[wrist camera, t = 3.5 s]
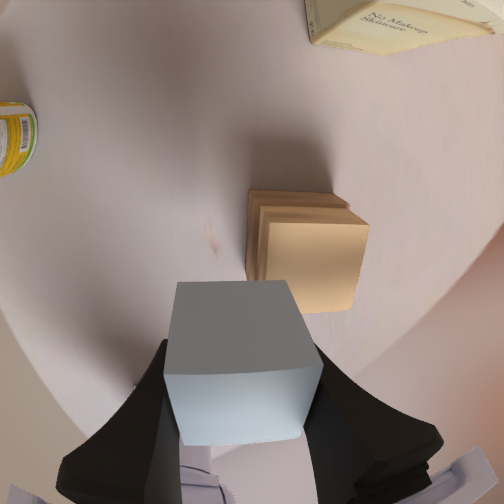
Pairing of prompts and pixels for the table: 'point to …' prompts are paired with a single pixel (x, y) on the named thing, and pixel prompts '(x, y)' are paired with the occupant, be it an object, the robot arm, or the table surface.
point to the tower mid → (312, 254)
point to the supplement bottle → (16, 136)
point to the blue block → (239, 363)
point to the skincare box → (400, 22)
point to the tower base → (279, 199)
